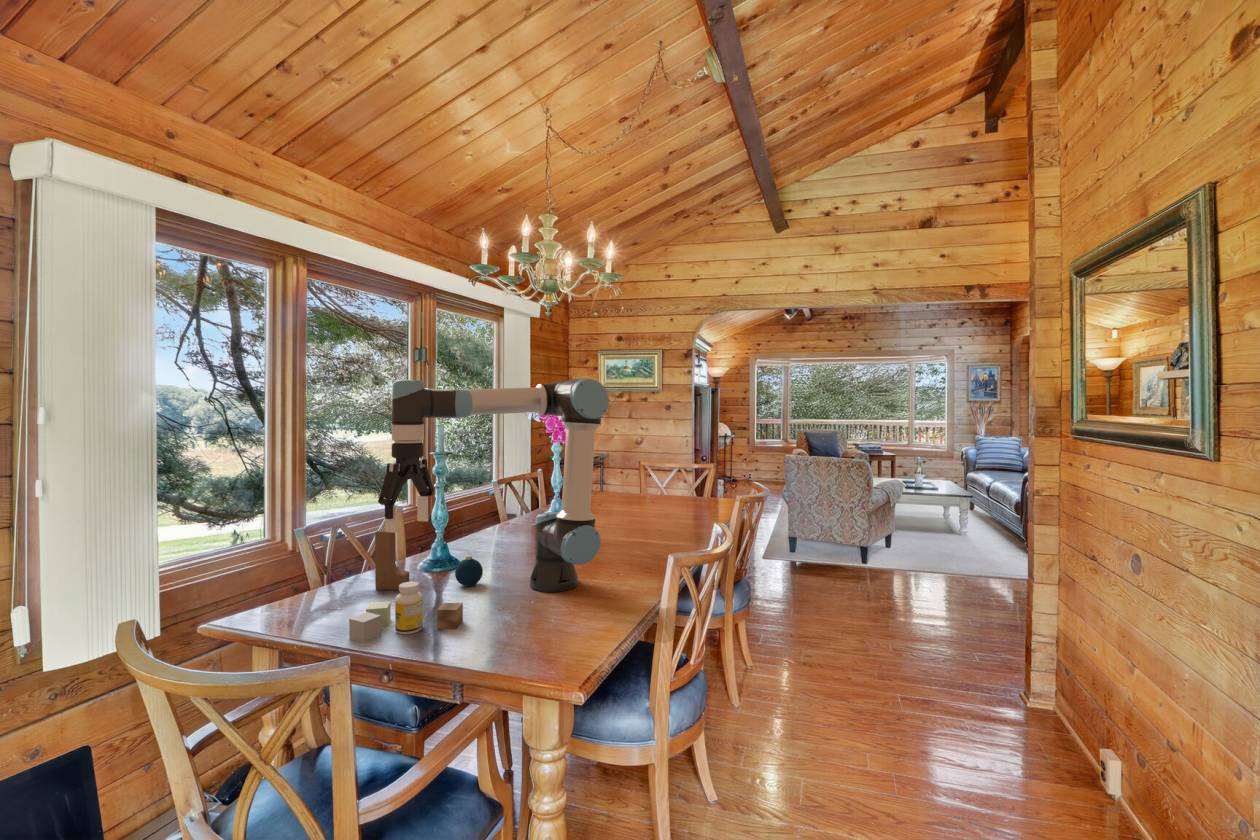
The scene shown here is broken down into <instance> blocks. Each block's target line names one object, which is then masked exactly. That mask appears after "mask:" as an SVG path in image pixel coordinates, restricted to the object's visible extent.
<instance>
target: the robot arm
mask: <svg viewBox="0 0 1260 840" xmlns="http://www.w3.org/2000/svg"><path fill="white" fill-rule="evenodd" d="M391 387H392V388H391V398H390V399H391V441H394V442H392V443H391V457H392V458H394V459H395V462H394V463H393V462H388V463H387V464H386V471H385V476H384V479H383V482H382V487H381V489H380V492H379V496H378V499H377V503H378V504H380V505H381V506H384V519H385V520H384V525H385V526H384V529H385V532H394V533H398V504H396V502H397V500H398V498H399V496H400V493H401V491H402V490H403V489H402V488H403V486H404V485H405V483H406V482H408V480H409V481H410V480H411V481H412V483H413V485H414V487H415V490H416V491H417V493H418V494H419V495H418V496H417V498H416V499H417V503H416V504H417V506H416V507H417V511H416V513H417V514H416V515H417V516H416V518H417V519H416V521H417V522H428V521H429V497H432V496H433V495H434V490H435V489H434V486H433V482H432V478H431V475H430V472H429V468H428V459H426V458H423V457H424V454H425V447H424V446H425V445H424V442H423V441H424V440H425V427H424V425H425V422H424V421H425V418H426V419H433V418H434V419H461V418H462V419H465V418H468V417H470V416H479V415H480V416H481V415H482V416H483V415H500V414H501V415H502V414H525V413H527V414H528V413H536V414H537V415H539V416H556V417H557V416H558V417H561V424H562V426H563V427H564V428H565V443H564V444H565V446H564V447H565V448H564V450H565V451H564V462H563V480H562V498H561V510H559V511H549V512H548V511H547V512H542V513H538V514H537V515H536V517H535V522H534V523H535V524H534V528H535V529H534V530H535V536H534V538H535V561H534V562H535V563H534V565H533V567H532V571H531V575H530V576H529V587H530V588H531V589H532V590H534V591H539V592H544V593H546V592H547V593H557V592H558V591H559V592H565V590H566V591H569V589H570V590H572V589H574V587H575V588H576V587H577V586H578V585H579V577H578V576H579V575H578V572H577V569H576V566H575V565H577V566H578V565H579V566H580V565H585V564H587V563H589V562H591V561H592V560H593V559H594V558H595V557H596V556H597V555H598V553H599V550H600V548H601V542H602V540H601V535H600V532H598V530H597V528H595V527H596V516H595V515H594V513H593V512H592V511H591V510H592V508H591V506H592V493H593V492H592V491H593V490H592V489H593V474H594V473H593V472H594V457H595V443H596V442H595V439H596V431H597V429H599V428H600V426H601V425H602V416H603V415H605V413H606V412H607V411H608V408H609V405H610V398H609V397H610V396H609V393H608V391H607V389H606V388H605V386H604V385H603V384H602V383H601V382H600V381H598V380H597V379H593V378H586V377H584V378H583V377H580V378H575V379H574V378H573V379H565V380H561V381H555V382H550V383H538V384H536V386H535V387H507V388H506V387H505V388H504V387H502V388H470V389H467V388H466V389H465V388H463V389H460V388H456V389H455V388H427V387H425V383H424V381H423V380H417V379H416V380H414V379H397V380H395V381H393V382H392V386H391ZM571 588H572V589H571Z"/></svg>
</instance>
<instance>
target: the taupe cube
mask: <svg viewBox="0 0 1260 840" xmlns="http://www.w3.org/2000/svg"><path fill="white" fill-rule="evenodd" d="M348 621H349V623H348V625H349V626H348V627H349V628H348V630H349V632H348V634H349V635H348V636H349V638H348V639H349V640H353V641H356V642H359V643H366V642H368V641H371V640H373V639H376V638H378V637H380V636H382V627H381V615H377V614H373V613H369V612H366V611H365V612H363V613H361V614H358V615H356V616H353V617H351V618H349V620H348Z"/></svg>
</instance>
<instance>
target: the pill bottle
mask: <svg viewBox="0 0 1260 840" xmlns="http://www.w3.org/2000/svg"><path fill="white" fill-rule="evenodd" d="M419 589H420V583H419V582H418V581H409V582H405V583H402V584H400V585H399V590H398V591H399V592H400V593H398V594H397V595H396V596H395V599H394V602H395V603H394V605H395V607H394V608H395V609H394V612H395V614H394V616H395V619H394V620H395V622H394V623H395V627H394V628H395V632H396V633H397V634H401V635H412V634H414V633H417V632H420V631H421V630H422V629H423V626H424V625H423V622H424V621H423V620H424V618H423V617H424V615H423V611H424V609H423V604H424V603H423V601H424V600H423V594H422V593H421V592H420V591H419Z"/></svg>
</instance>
